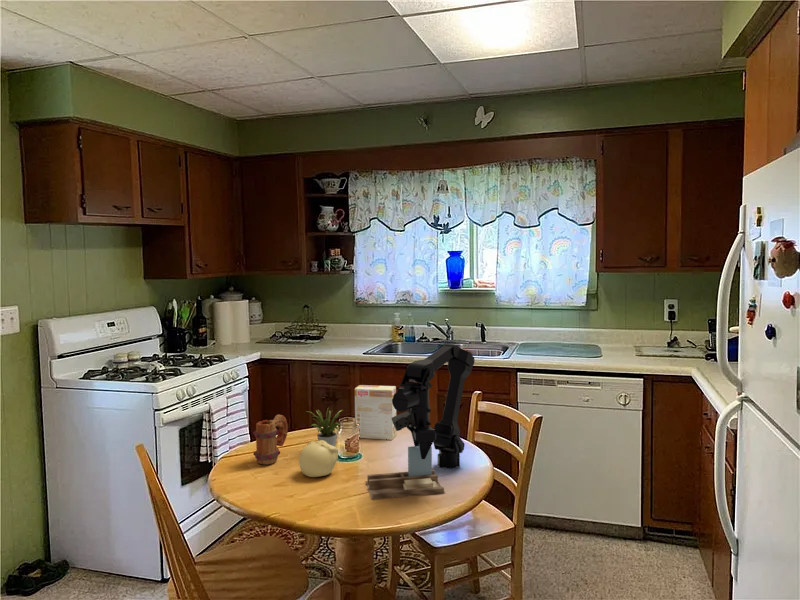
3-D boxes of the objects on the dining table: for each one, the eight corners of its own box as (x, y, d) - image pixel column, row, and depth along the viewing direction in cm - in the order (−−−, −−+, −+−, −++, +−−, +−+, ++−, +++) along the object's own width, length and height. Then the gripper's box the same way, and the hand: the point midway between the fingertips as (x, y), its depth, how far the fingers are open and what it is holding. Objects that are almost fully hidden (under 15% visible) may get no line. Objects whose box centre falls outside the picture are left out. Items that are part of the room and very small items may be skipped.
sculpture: (343, 471, 200) (342, 439, 199) (319, 483, 190) (318, 449, 189) (317, 465, 207) (316, 433, 206) (292, 476, 197) (291, 443, 196)
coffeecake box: (397, 434, 239) (396, 385, 237) (392, 440, 232) (392, 390, 230) (360, 432, 242) (359, 384, 241) (355, 438, 235) (354, 388, 234)
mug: (265, 469, 203) (264, 424, 202) (248, 464, 208) (246, 421, 206) (295, 456, 216) (294, 414, 214) (278, 452, 220) (277, 411, 219)
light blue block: (430, 479, 190) (430, 445, 189) (431, 482, 188) (431, 447, 187) (408, 481, 188) (408, 446, 188) (409, 483, 187) (409, 448, 186)
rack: (434, 478, 193) (434, 468, 193) (445, 496, 179) (445, 484, 179) (365, 484, 189) (365, 473, 189) (371, 502, 176) (371, 490, 175)
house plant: (300, 458, 213) (298, 412, 212) (307, 445, 227) (306, 402, 225) (340, 458, 212) (339, 412, 211) (346, 445, 226) (345, 402, 225)
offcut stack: (435, 485, 185) (435, 477, 185) (438, 490, 181) (438, 482, 181) (403, 487, 184) (402, 480, 183) (405, 493, 179) (405, 485, 179)
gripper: (388, 398, 194) (389, 446, 195) (398, 414, 175) (399, 466, 177) (422, 396, 196) (423, 443, 197) (436, 411, 177) (437, 463, 179)
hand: (420, 453), depth 187 cm, fingers open, 9 cm apart
